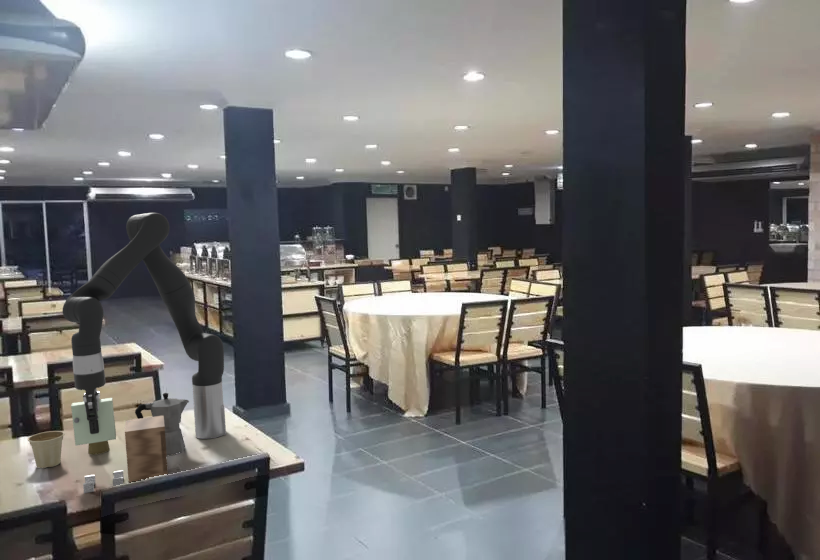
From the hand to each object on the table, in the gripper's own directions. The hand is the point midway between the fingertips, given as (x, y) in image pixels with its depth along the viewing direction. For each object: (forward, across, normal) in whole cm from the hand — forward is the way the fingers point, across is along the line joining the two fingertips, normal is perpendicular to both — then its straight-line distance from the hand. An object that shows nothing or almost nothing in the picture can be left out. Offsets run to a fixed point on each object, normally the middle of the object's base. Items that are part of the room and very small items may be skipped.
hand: (95, 431), depth 182 cm
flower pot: (+13, +17, +14) cm, 26 cm away
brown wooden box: (+13, -3, -12) cm, 18 cm away
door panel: (+3, 0, 0) cm, 3 cm away
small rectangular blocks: (+13, -8, -2) cm, 15 cm away
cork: (+13, +23, +1) cm, 27 cm away
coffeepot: (+14, +13, -18) cm, 26 cm away
